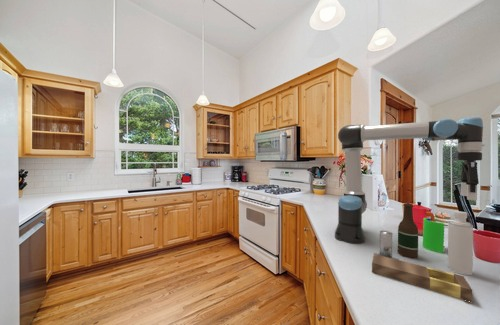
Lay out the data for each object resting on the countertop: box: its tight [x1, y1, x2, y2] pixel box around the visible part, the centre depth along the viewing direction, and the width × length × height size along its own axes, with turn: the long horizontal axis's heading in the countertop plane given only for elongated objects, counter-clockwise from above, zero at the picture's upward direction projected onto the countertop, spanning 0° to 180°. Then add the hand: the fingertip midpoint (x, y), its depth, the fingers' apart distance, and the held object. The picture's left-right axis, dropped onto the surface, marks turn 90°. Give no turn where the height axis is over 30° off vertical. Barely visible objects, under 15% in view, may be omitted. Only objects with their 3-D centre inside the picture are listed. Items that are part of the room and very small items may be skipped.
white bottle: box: [447, 210, 474, 276], centre depth 77 cm, size 7×7×25 cm
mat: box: [373, 252, 400, 260], centre depth 84 cm, size 9×9×1 cm
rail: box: [371, 253, 473, 303], centre depth 70 cm, size 26×9×4 cm, turn 53°
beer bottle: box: [397, 202, 419, 260], centre depth 89 cm, size 8×8×24 cm
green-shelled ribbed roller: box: [422, 211, 446, 254], centre depth 97 cm, size 9×8×18 cm
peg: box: [379, 229, 393, 258], centre depth 84 cm, size 4×4×12 cm
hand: (468, 197), depth 89 cm, fingers open, 13 cm apart
